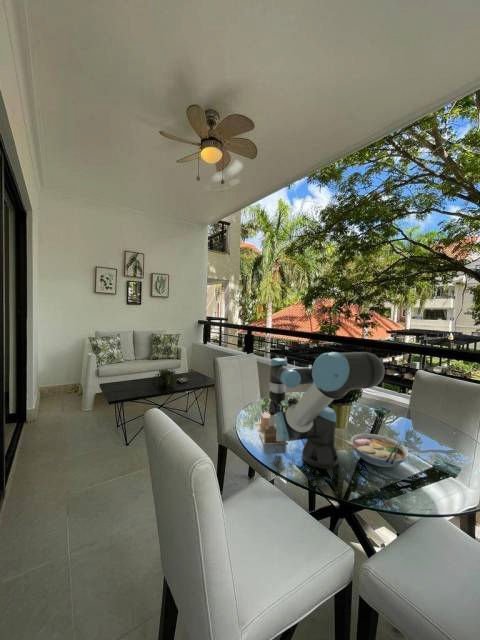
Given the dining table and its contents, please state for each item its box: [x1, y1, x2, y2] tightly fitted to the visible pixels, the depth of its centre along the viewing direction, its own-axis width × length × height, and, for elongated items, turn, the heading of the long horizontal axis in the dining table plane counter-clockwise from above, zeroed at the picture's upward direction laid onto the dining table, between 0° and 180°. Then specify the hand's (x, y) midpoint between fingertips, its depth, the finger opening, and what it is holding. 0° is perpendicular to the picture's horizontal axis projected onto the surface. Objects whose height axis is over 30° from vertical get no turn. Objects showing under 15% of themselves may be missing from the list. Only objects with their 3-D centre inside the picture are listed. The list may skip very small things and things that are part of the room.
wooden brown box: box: [254, 421, 289, 445], centre depth 151 cm, size 24×12×8 cm, turn 8°
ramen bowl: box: [350, 433, 410, 468], centre depth 126 cm, size 25×23×8 cm
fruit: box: [286, 397, 300, 409], centre depth 180 cm, size 9×8×15 cm
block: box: [260, 412, 270, 429], centre depth 157 cm, size 6×6×6 cm
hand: (275, 434), depth 140 cm, fingers open, 13 cm apart
